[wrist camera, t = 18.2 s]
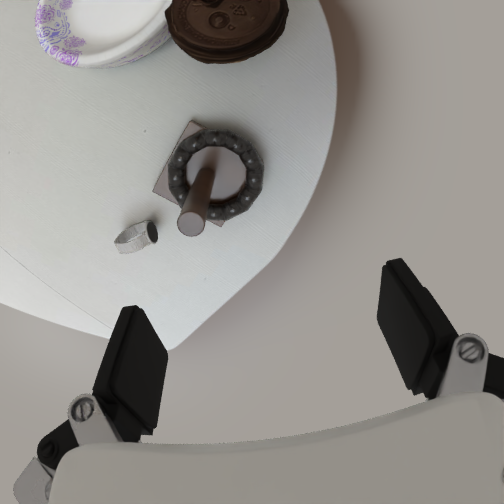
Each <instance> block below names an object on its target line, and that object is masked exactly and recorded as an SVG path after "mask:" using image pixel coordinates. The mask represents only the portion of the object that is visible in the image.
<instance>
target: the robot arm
mask: <svg viewBox="0 0 504 504" xmlns="http://www.w3.org/2000/svg"><path fill="white" fill-rule="evenodd" d="M377 321H378V324H379V326H380V329H381V330H382V333H383V335H384V337H385V339H386V341H387V344H388V346H389V348H390V350H391V353H392V355H393V357H394V359H395V362H396V364H397V366H398V368H399V371H400V373H401V376H402V378H403V380H404V383H405V385H406V387H407V389H408V390H410V389H411V390H412V392H413V395H417V394H420V393H424V395H425V397H426V398H427V399H426V402H423V403H420V404H417V405H414V406H411V407H408V408H405V409H402V410H399V411H396V412H392V413H389V414H386V415H382V416H379V417H375V418H372V419H368V420H365V421H361V422H357V423H353V424H349V425H345V426H341V427H336V428H332V429H327V430H322V431H317V432H312V433H306V434H301V435H295V436H288V437H282V438H275V439H266V440H258V441H247V442H234V443H219V444H151V443H150V444H149V443H142V442H141V441H140V437H141V435H153V429H155V428H156V427H157V422H158V416H159V409H160V402H161V397H162V391H163V385H164V379H165V373H166V368H167V362H168V353H167V350H166V349H165V347H164V345H163V344H162V342H161V340H160V339H159V337H158V335H157V333H156V332H155V330H154V328H153V327H152V325H151V323H150V321H149V319H148V318H147V316H146V314H145V312H144V310H143V309H142V308H139V307H138V306H137V305H134V306H126V307H123V308H122V310H121V312H120V315H119V317H118V320H117V322H116V325H115V327H114V330H113V333H112V335H111V338H110V341H109V343H108V346H107V349H106V351H105V354H104V357H103V360H102V363H101V365H100V368H99V371H98V374H97V377H96V380H95V383H94V386H93V389H92V390H93V393H92V395H91V394H81V395H79V396H77V397H76V398H75V399H74V400H73V401H72V402H71V403H70V405H69V408H68V418H69V419H68V420H67V421H65V422H64V423H63V424H61V425H60V426H58V427H57V428H56V429H54V430H53V431H52V432H50V433H49V434H48V435H46V436H45V437H44V438H43V439H42V440H41V441H40V443H39V444H38V448H37V455H38V458H36V457H34V458H33V459H32V460H31V462H30V463H29V464H28V466H27V467H26V468H25V470H24V471H23V472H22V474H21V475H20V477H19V478H18V479H17V481H16V482H15V484H14V488H13V491H14V495H15V497H16V499H17V501H18V502H19V504H504V358H501V357H499V356H496V355H493V354H490V353H488V347H487V344H486V343H485V341H484V340H483V339H482V338H481V337H479V336H478V335H475V334H471V333H466V334H462V335H460V336H459V335H458V334H457V332H456V330H455V329H454V327H453V326H452V324H451V323H450V321H449V320H448V318H447V317H446V315H445V314H444V312H443V311H442V309H441V308H440V306H439V305H438V303H437V302H436V300H435V299H434V298H433V296H432V295H431V293H430V292H429V291H428V289H427V288H425V287H423V286H422V285H421V283H420V282H419V281H418V279H417V278H416V276H415V275H414V274H413V272H412V271H411V270H410V268H409V267H408V266H407V264H406V263H405V262H404V261H403V259H402V258H398V259H393V260H389V261H387V262H386V265H384V266H383V267H382V276H381V286H380V295H379V304H378V311H377Z"/></svg>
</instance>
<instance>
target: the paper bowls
mask: <svg viewBox="0 0 504 504" xmlns="http://www.w3.org/2000/svg"><path fill="white" fill-rule="evenodd" d="M171 3H172V0H39V3H38V6H37V10H36V18H35V26H36V33H37V37H38V40H39V42H40V44H41V46H42V48H43V49H44V50H45V52H46V53H47V54H48V55H49V56H50V57H52V58H53V59H54V60H56V61H58V62H60V63H63V64H66V65H70V66H74V67H87V68H113V67H117V66H121V65H125V64H128V63H131V62H134V61H136V60H138V59H140V58H142V57H144V56H146V55H148V54H149V53H151V52H153V51H154V50H156V49H157V48H158V47H160V46H161V45H162V44H164V43H165V42H166V41H167V40H168V39H169V38H170V37H171V34H170V32H169V31H168V25H167V20H166V18H165V13H164V12H165V10H166V9H167V8H168V7H169V6H170V4H171Z"/></svg>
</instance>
